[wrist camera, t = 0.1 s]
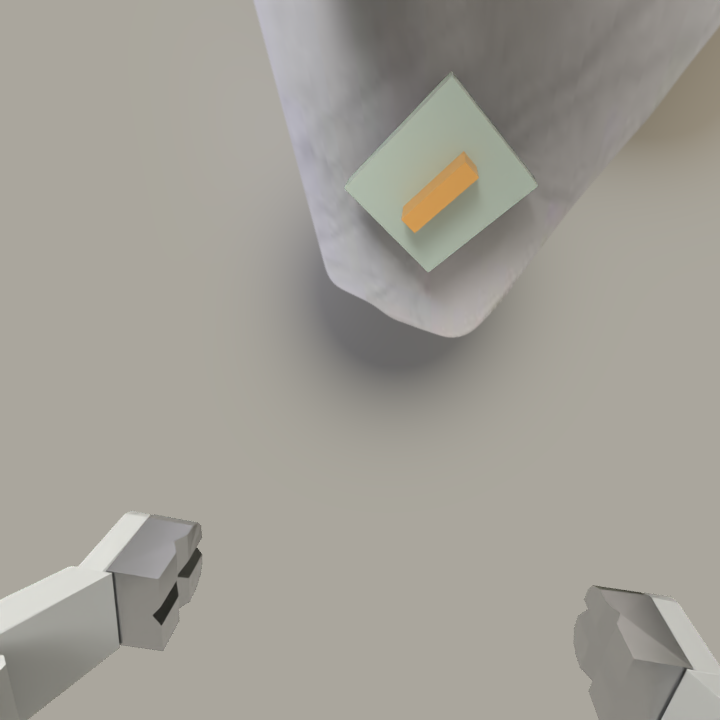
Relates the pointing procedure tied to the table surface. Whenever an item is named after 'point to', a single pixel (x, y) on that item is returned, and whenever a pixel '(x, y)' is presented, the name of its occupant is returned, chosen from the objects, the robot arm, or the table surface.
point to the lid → (441, 176)
